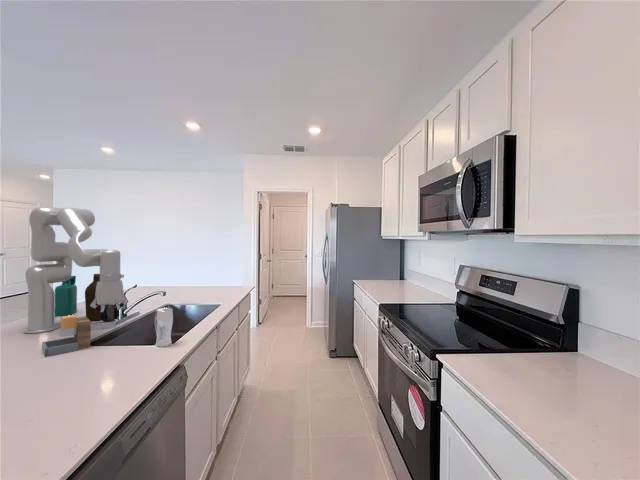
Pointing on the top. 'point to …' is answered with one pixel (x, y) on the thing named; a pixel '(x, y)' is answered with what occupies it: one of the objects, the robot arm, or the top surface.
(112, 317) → the grey piece
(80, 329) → the brown wooden block
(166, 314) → the beer glass
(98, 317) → the olive oil
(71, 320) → the spacer block
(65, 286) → the teal green bottle
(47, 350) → the tray
